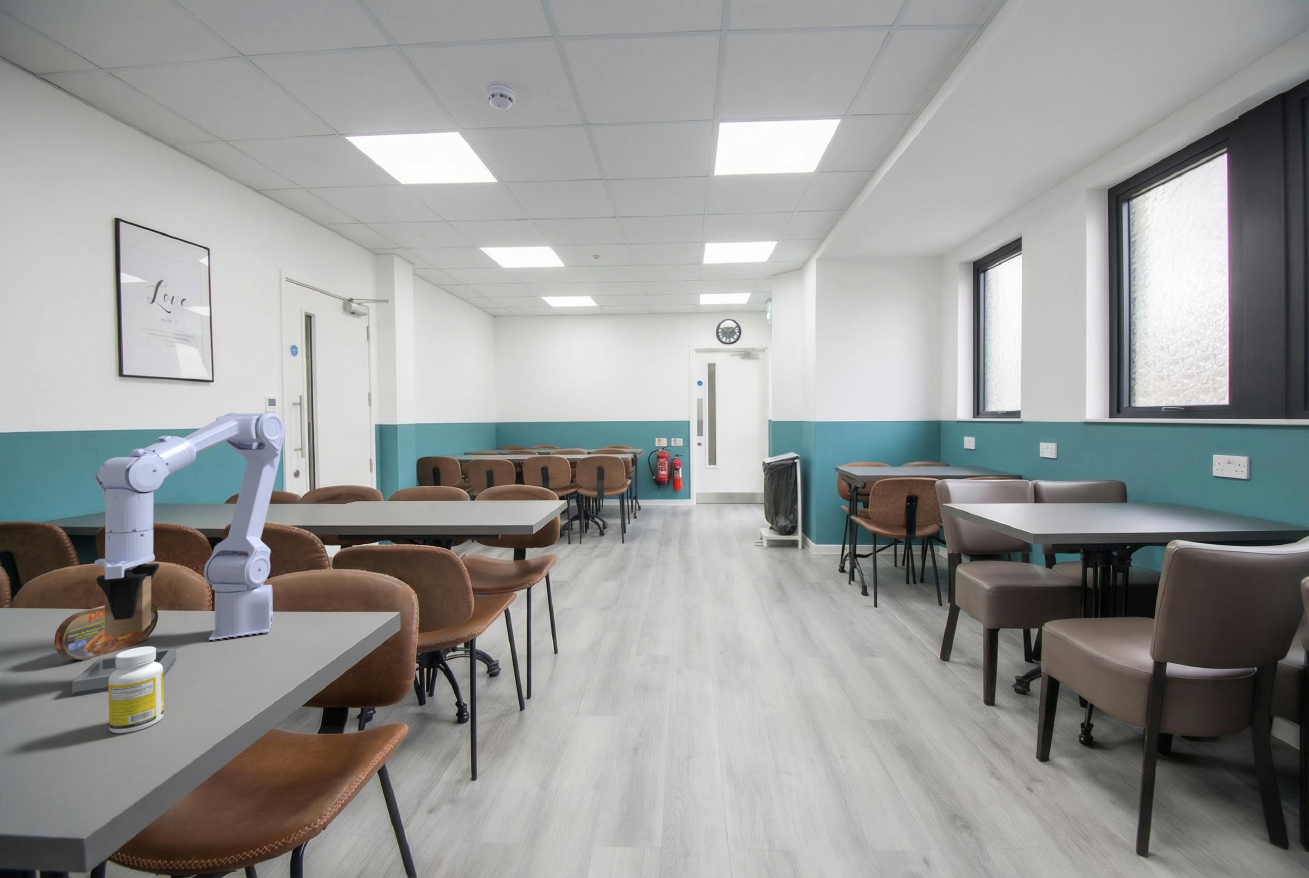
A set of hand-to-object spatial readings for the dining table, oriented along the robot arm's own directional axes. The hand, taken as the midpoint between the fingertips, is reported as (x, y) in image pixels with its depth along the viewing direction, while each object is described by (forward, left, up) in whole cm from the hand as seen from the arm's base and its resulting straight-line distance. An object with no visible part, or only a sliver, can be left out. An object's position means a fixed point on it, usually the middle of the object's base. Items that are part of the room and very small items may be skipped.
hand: (129, 614), depth 91 cm
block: (0, 0, -3) cm, 3 cm away
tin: (+7, -17, -10) cm, 21 cm away
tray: (0, +1, -10) cm, 10 cm away
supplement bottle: (-6, +21, -10) cm, 24 cm away
